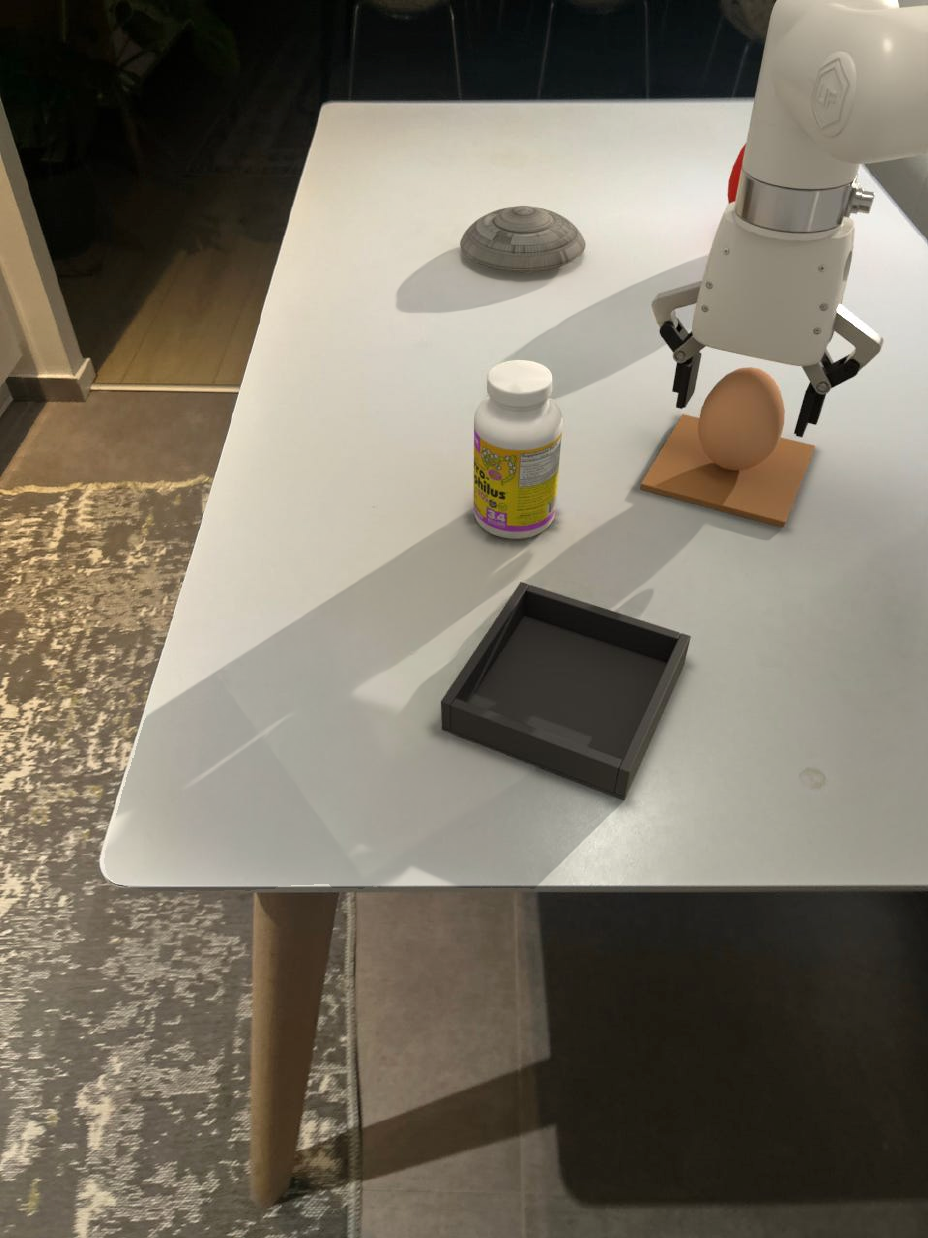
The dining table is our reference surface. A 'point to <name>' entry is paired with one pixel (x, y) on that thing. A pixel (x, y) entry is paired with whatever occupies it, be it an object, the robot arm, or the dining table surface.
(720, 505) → the plate
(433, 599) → the dining table surface
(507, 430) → the supplement bottle
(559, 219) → the flying saucer
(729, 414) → the egg
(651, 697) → the tray
